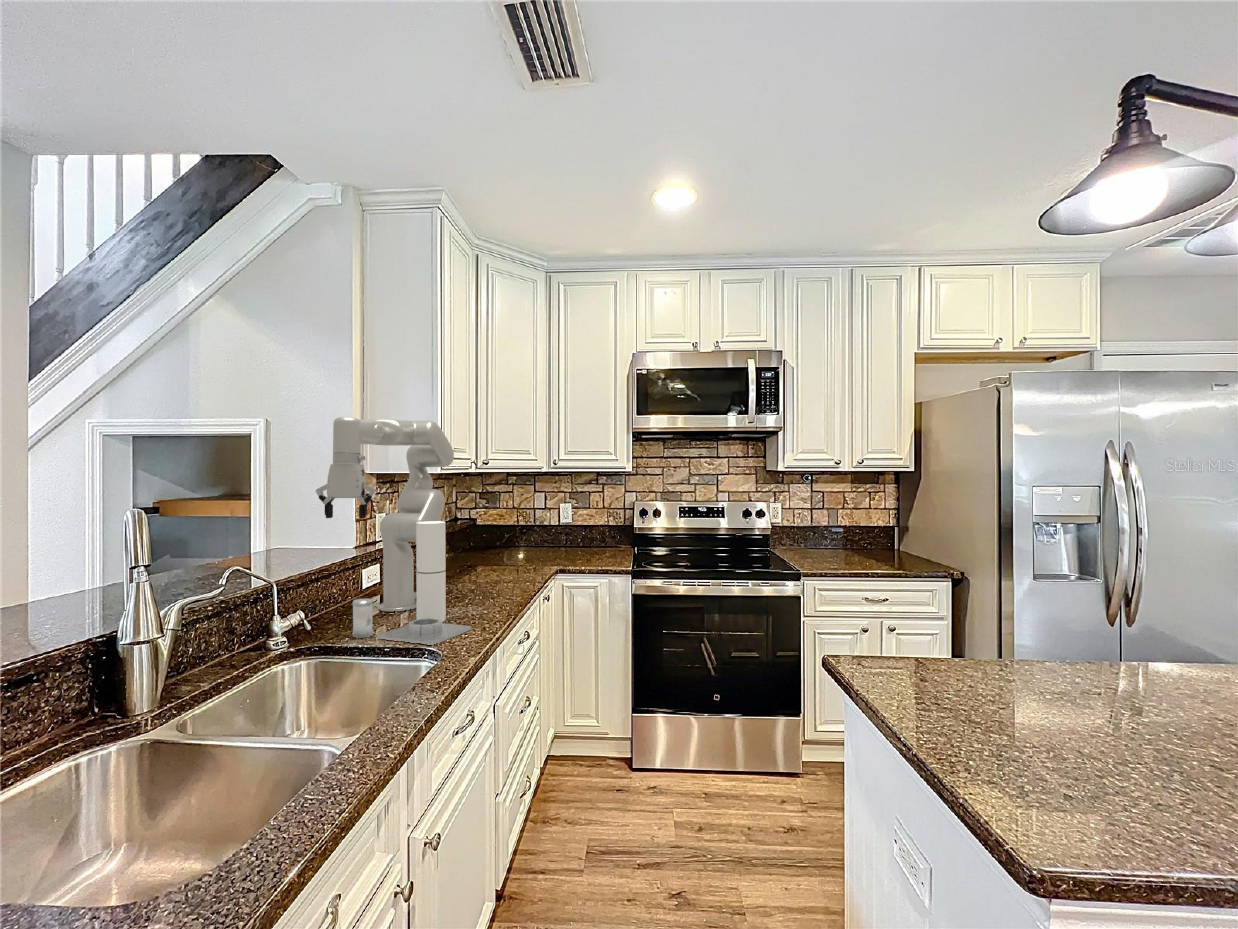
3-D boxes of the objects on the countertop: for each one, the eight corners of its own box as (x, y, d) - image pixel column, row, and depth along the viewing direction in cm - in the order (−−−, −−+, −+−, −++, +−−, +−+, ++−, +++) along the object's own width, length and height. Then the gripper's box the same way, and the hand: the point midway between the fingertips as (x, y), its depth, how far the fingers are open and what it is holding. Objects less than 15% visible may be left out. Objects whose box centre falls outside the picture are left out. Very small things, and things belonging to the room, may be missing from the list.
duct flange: (420, 624, 192) (420, 612, 192) (471, 629, 185) (471, 617, 185) (377, 639, 175) (377, 626, 175) (431, 646, 169) (431, 632, 169)
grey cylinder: (362, 633, 182) (362, 598, 182) (376, 635, 180) (376, 599, 180) (348, 637, 177) (348, 601, 177) (363, 639, 175) (363, 603, 175)
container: (410, 622, 194) (410, 523, 194) (428, 616, 202) (428, 520, 202) (433, 624, 191) (433, 524, 191) (451, 618, 199) (451, 521, 199)
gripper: (380, 460, 192) (380, 517, 191) (323, 460, 192) (321, 517, 191) (371, 459, 184) (370, 519, 184) (311, 459, 184) (310, 518, 184)
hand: (345, 518), depth 188 cm, fingers open, 9 cm apart
